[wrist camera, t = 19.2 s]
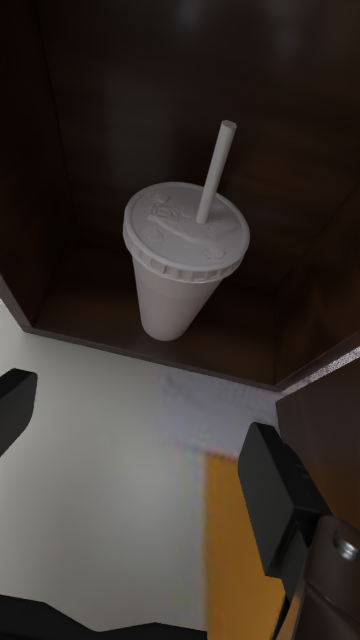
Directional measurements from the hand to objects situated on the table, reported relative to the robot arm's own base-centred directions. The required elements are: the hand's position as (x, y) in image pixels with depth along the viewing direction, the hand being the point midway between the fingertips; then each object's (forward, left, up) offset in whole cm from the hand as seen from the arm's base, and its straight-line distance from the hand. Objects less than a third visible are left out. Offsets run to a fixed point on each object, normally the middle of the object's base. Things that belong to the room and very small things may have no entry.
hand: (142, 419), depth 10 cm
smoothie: (+5, +8, -8) cm, 12 cm away
